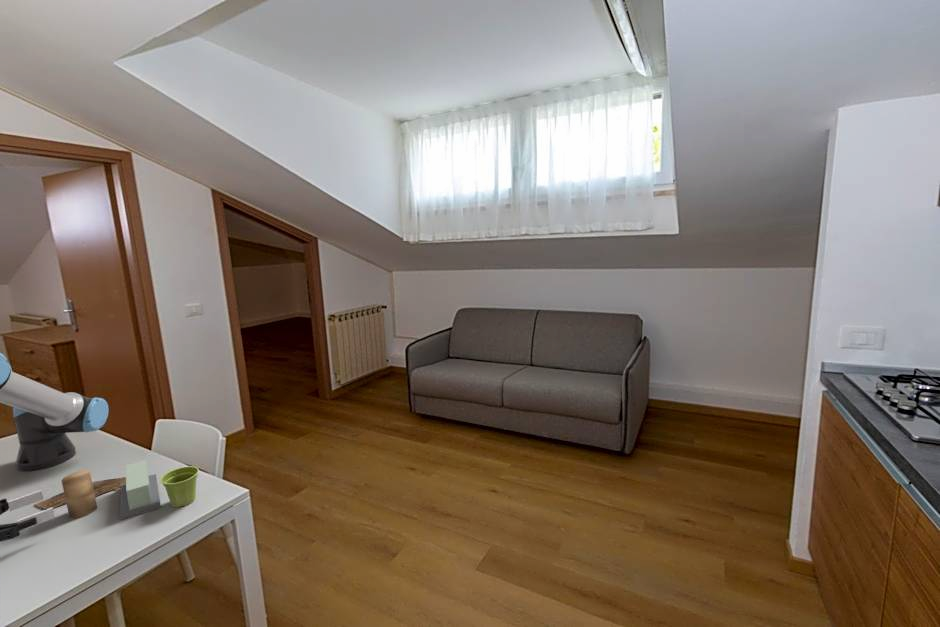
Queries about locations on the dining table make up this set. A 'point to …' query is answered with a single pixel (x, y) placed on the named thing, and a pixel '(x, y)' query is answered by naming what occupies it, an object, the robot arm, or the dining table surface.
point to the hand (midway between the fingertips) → (47, 503)
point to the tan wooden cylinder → (79, 494)
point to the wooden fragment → (98, 488)
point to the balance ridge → (138, 491)
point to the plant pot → (181, 485)
